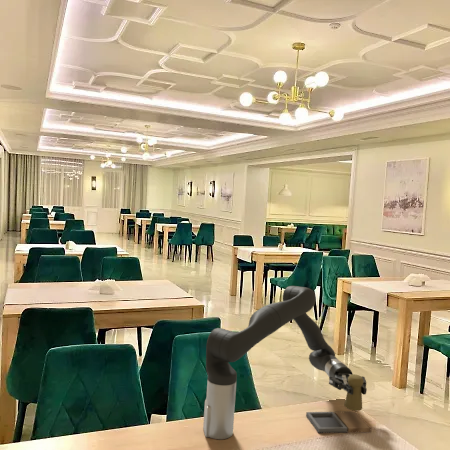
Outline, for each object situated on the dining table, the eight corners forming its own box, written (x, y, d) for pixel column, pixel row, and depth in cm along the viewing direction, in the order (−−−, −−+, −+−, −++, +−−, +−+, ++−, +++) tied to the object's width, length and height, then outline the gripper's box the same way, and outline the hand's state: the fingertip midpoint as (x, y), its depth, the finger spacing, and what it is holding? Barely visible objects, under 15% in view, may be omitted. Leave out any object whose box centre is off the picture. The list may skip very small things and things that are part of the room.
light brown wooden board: (348, 432, 159) (348, 428, 159) (334, 415, 170) (334, 411, 170) (370, 432, 160) (371, 427, 160) (355, 415, 172) (355, 411, 172)
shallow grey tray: (318, 433, 157) (318, 428, 157) (306, 416, 169) (306, 412, 168) (347, 432, 159) (347, 428, 158) (332, 415, 170) (333, 411, 170)
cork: (359, 403, 168) (361, 372, 167) (364, 411, 162) (367, 379, 161) (342, 402, 168) (344, 371, 167) (347, 410, 162) (349, 378, 161)
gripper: (321, 362, 177) (339, 381, 160) (356, 362, 180) (379, 381, 163) (319, 382, 178) (338, 403, 161) (355, 381, 180) (377, 402, 163)
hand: (358, 391), depth 162 cm, fingers closed on cork, 4 cm apart
